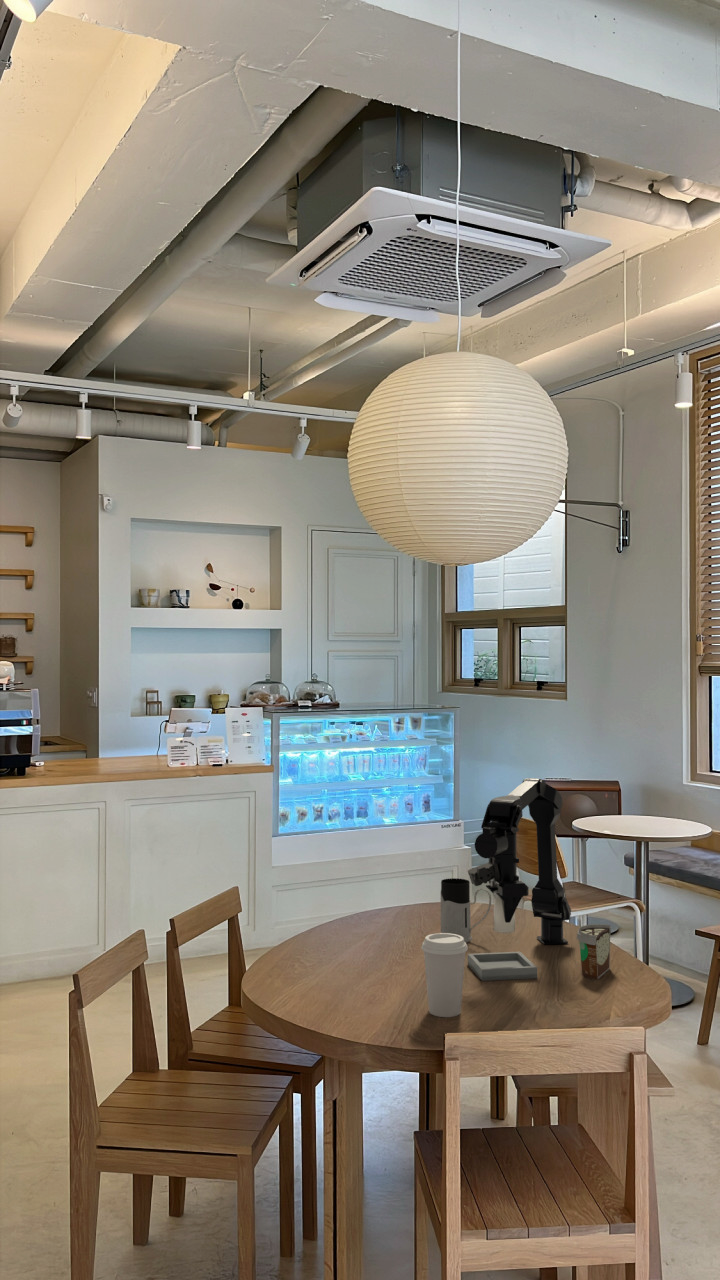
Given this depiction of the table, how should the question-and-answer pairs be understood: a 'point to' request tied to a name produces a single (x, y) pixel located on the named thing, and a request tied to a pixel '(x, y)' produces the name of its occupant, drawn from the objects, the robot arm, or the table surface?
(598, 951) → the food container
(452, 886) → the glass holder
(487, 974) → the tray
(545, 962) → the table surface
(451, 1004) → the coffee cup
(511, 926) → the cylinder
